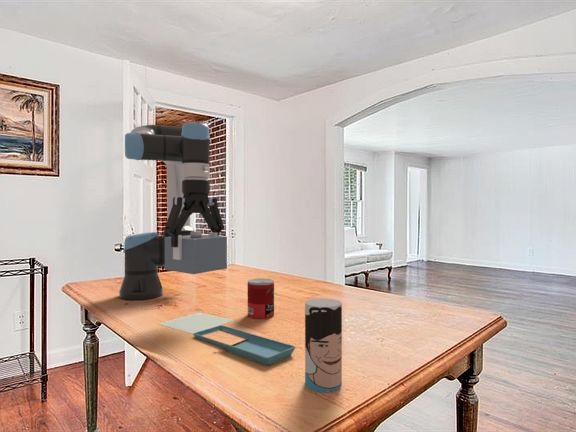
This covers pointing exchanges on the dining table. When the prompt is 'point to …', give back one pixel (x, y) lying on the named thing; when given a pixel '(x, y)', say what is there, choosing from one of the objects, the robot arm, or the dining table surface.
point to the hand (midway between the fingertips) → (196, 257)
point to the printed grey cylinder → (323, 344)
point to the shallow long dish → (251, 346)
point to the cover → (197, 254)
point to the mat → (195, 322)
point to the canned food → (260, 298)
